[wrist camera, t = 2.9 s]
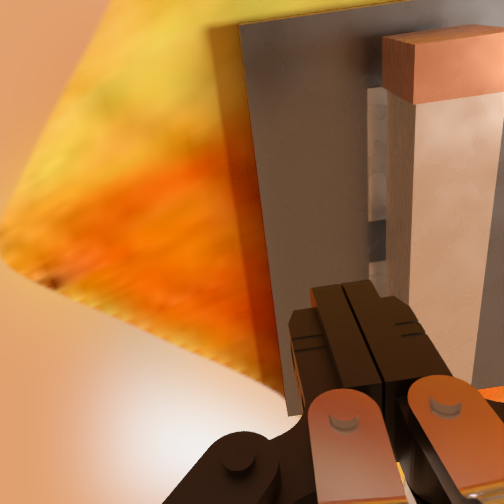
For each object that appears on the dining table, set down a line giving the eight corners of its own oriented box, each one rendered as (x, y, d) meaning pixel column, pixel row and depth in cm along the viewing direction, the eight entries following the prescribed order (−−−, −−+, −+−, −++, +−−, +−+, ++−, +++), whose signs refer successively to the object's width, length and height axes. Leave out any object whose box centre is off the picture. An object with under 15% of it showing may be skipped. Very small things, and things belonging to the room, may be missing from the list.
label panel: (237, 23, 26) (239, 25, 24) (571, -25, 26) (594, -26, 24) (285, 402, 39) (288, 419, 37) (505, 370, 39) (517, 386, 37)
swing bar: (430, 405, 38) (465, 472, 33) (374, 413, 38) (400, 481, 33) (457, 22, 25) (522, 29, 20) (372, 34, 25) (415, 44, 20)
